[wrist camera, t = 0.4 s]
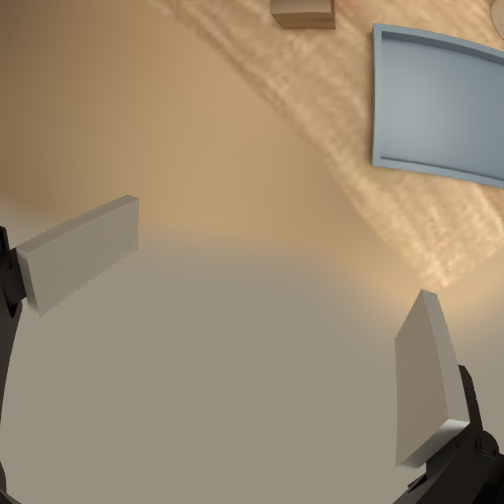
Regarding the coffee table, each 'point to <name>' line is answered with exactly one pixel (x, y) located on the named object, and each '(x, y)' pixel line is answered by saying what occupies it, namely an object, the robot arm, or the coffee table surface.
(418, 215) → the coffee table surface
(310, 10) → the walnut cube
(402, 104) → the blue-grey tray
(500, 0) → the pill bottle
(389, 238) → the coffee table surface
